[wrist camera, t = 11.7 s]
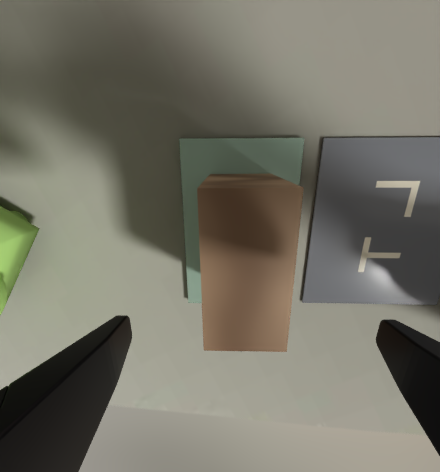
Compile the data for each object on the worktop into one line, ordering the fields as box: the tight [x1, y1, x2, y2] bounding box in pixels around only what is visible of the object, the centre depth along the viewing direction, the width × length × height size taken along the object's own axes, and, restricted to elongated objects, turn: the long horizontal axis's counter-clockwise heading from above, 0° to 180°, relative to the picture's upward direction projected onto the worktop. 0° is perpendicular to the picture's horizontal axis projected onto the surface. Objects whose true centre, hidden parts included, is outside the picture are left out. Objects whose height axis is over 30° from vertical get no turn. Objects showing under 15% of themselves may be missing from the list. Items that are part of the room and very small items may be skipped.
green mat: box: [179, 138, 304, 303], centre depth 19 cm, size 9×14×1 cm, turn 0°
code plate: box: [302, 137, 440, 305], centre depth 19 cm, size 12×14×1 cm
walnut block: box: [197, 174, 304, 352], centre depth 15 cm, size 5×9×8 cm, turn 1°
